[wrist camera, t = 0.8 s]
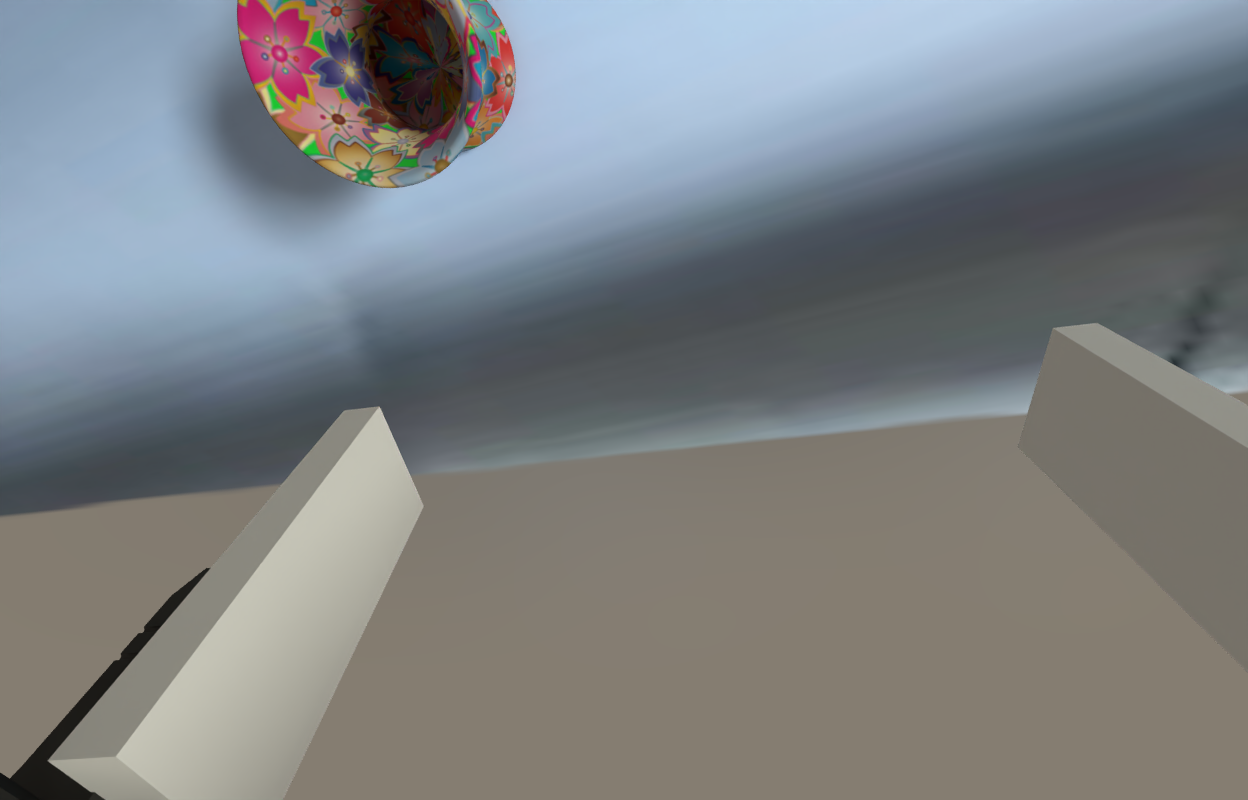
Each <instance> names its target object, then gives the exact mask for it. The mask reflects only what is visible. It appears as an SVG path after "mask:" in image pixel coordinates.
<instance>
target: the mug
mask: <svg viewBox="0 0 1248 800" xmlns="http://www.w3.org/2000/svg"><path fill="white" fill-rule="evenodd" d="M237 21H238V32H239V40H240V45H241V50H242V54H243V58H244V61H245V64H246V68H247V70H248V73H249V76H250V78H251V81H252V83H253V85H254V87H255V90H256V92H257V94H258V96H259V98H260V99H261V101H262V103H263V105H264V107H265V108H266V110H267V111H268V113H269V114H270V116H271V117H272V119H273V120H274V121H275V123H276V124H277V125H278V127H279V128H280V129H281V130H282V132H283V133H284V134H285V135H286V136H287V137H288V138H289V139H290V140H291V141H292V142H293V143H294V144H295V145H296V146H297V147H298V148H299V149H300V150H301V151H302V152H303V153H304V154H306V155H307V156H308V157H309V158H311V159H312V160H313V161H315V162H316V163H317V164H319V165H320V166H322V167H324V168H325V169H327V170H329V171H330V172H332V173H334V174H336V175H338V176H340V177H343V178H345V179H347V180H350V181H353V182H356V183H359V184H363V185H367V186H372V187H380V188H397V187H405V186H410V185H414V184H417V183H420V182H423V181H425V180H427V179H430V178H432V177H433V176H435V175H437V174H438V173H440V172H441V171H443V170H444V169H445V168H446V167H448V166H449V165H450V164H451V163H452V162H453V161H454V160H455V159H456V158H457V156H458V155H459V154H460V153H461V152H462V151H467V150H470V149H473V148H475V147H477V146H479V145H481V144H483V143H484V142H486V141H487V140H488V139H490V138H491V137H492V136H493V135H494V134H495V133H496V132H497V131H498V129H499V128H500V127H501V125H502V124H503V122H504V121H505V119H506V117H507V115H508V113H509V110H510V108H511V104H512V101H513V97H514V91H515V82H516V72H515V62H514V55H513V51H512V47H511V44H510V41H509V38H508V35H507V33H506V30H505V28H504V26H503V24H502V22H501V20H500V18H499V17H498V15H497V14H496V12H495V11H494V9H493V8H492V7H491V5H490V4H489V3H488V2H487V0H238V4H237Z"/></svg>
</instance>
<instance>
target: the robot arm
mask: <svg viewBox="0 0 1248 800" xmlns="http://www.w3.org/2000/svg"><path fill="white" fill-rule="evenodd" d="M1018 448H1019V449H1020V450H1021V451H1022V452H1023V453H1024V454H1025V455H1026V456H1027V457H1028V458H1029V459H1030V460H1031V461H1032V462H1033V463H1034V464H1035V465H1036V466H1037V467H1039V469H1040V470H1041V471H1042V472H1043V473H1045V474H1046V475H1047V476H1048V477H1049V478H1050V479H1051V480H1052V481H1053V482H1054V483H1055V484H1056V485H1057V486H1058V487H1059V488H1060V489H1061V490H1062V491H1063V492H1064V493H1065V494H1066V495H1067V496H1068V497H1069V498H1070V499H1071V500H1072V501H1073V502H1074V503H1075V504H1076V505H1077V506H1078V507H1079V508H1080V509H1081V510H1082V511H1083V512H1084V513H1085V514H1086V515H1087V516H1088V517H1089V518H1090V519H1092V521H1094V522H1095V524H1097V525H1098V526H1099V527H1100V528H1101V529H1102V530H1103V531H1104V532H1105V533H1106V534H1107V535H1108V536H1109V537H1110V538H1111V539H1112V540H1113V541H1114V542H1115V543H1116V544H1117V545H1118V546H1119V547H1120V548H1121V549H1122V550H1123V551H1124V552H1125V553H1126V554H1127V555H1128V556H1129V557H1130V558H1131V559H1132V560H1133V561H1134V562H1135V563H1136V564H1137V565H1138V566H1139V567H1140V568H1141V569H1142V570H1144V572H1145V573H1147V574H1148V576H1150V577H1151V578H1152V579H1153V580H1154V581H1155V582H1156V583H1157V584H1158V585H1159V586H1160V587H1161V588H1162V589H1163V590H1164V591H1165V592H1166V593H1167V594H1168V595H1169V596H1170V597H1171V598H1172V599H1173V600H1174V601H1175V602H1176V603H1177V604H1178V605H1179V606H1180V607H1181V608H1182V609H1183V610H1184V611H1185V612H1186V613H1187V614H1188V615H1189V616H1190V617H1191V618H1192V619H1193V620H1194V621H1195V622H1197V624H1198V625H1199V626H1200V627H1202V628H1203V629H1204V630H1205V631H1206V632H1207V633H1208V634H1209V635H1210V636H1211V637H1212V638H1213V639H1214V640H1215V641H1216V642H1217V643H1218V644H1219V645H1220V646H1221V647H1222V648H1223V649H1224V650H1225V651H1226V652H1227V653H1228V654H1229V655H1230V656H1231V657H1232V658H1233V659H1234V660H1235V661H1236V662H1237V663H1238V664H1239V665H1240V666H1241V667H1242V668H1243V669H1244V670H1245V671H1246V672H1247V673H1248V405H1246V404H1244V403H1242V402H1241V401H1239V400H1237V399H1235V398H1233V397H1231V396H1230V395H1228V394H1226V393H1224V392H1222V391H1220V390H1219V389H1217V388H1215V387H1213V386H1211V385H1210V384H1208V383H1206V382H1204V381H1202V380H1200V379H1199V378H1197V377H1195V376H1193V375H1191V374H1189V373H1188V372H1186V371H1184V370H1182V369H1180V368H1178V367H1177V366H1175V365H1173V364H1171V363H1169V362H1167V361H1166V360H1164V359H1162V358H1160V357H1158V356H1156V355H1155V354H1153V353H1151V352H1149V351H1147V350H1145V349H1144V348H1142V347H1140V346H1138V345H1136V344H1134V343H1133V342H1131V341H1129V340H1127V339H1125V338H1123V337H1122V336H1120V335H1118V334H1116V333H1114V332H1112V331H1111V330H1109V329H1107V328H1105V327H1103V326H1101V325H1100V324H1098V323H1093V324H1084V325H1076V326H1067V327H1059V328H1053V330H1052V333H1051V336H1050V340H1049V343H1048V347H1047V350H1046V353H1045V357H1044V360H1043V363H1042V367H1041V370H1040V373H1039V377H1038V380H1037V384H1036V387H1035V390H1034V394H1033V397H1032V400H1031V404H1030V407H1029V411H1028V414H1027V418H1026V421H1025V424H1024V428H1023V431H1022V434H1021V437H1020V441H1019V444H1018ZM422 508H423V504H422V501H421V499H420V497H419V494H418V492H417V490H416V488H415V485H414V483H413V481H412V479H411V476H410V474H409V472H408V470H407V467H406V465H405V463H404V461H403V458H402V456H401V454H400V452H399V449H398V447H397V445H396V443H395V441H394V438H393V436H392V434H391V432H390V429H389V427H388V425H387V423H386V420H385V418H384V416H383V414H382V411H381V409H380V407H371V408H362V409H354V410H345V411H343V413H342V414H341V415H340V416H339V417H338V419H337V420H336V421H335V422H334V423H333V424H332V426H331V427H330V428H329V429H328V430H327V432H326V433H325V434H324V435H323V436H322V437H321V439H320V440H319V441H318V442H317V443H316V444H315V446H314V447H313V448H312V449H311V450H310V452H309V453H308V454H307V455H306V456H305V457H304V459H303V460H302V461H301V462H300V463H299V465H298V466H297V467H296V468H295V469H294V470H293V472H292V473H291V474H290V475H289V476H288V478H287V479H286V480H285V481H284V482H283V483H282V485H281V486H280V487H279V488H278V489H277V491H276V492H275V493H274V494H273V495H272V497H271V498H270V499H269V500H268V501H267V502H266V504H265V505H264V506H263V507H262V508H261V509H260V511H259V512H258V513H257V514H256V515H255V517H254V518H253V519H252V520H251V521H250V522H249V524H248V525H247V526H246V527H245V528H244V529H243V531H242V532H241V533H240V534H239V535H238V537H237V538H236V539H235V540H234V542H232V544H231V545H230V546H229V547H228V548H227V550H226V551H225V552H224V553H223V554H222V555H221V557H220V558H219V559H218V560H217V561H216V563H215V564H214V565H213V566H212V567H211V568H206V569H205V570H203V571H202V572H201V573H200V574H198V575H197V576H196V577H195V578H193V579H192V580H191V581H190V582H188V583H187V584H186V585H184V586H183V587H182V588H181V589H179V590H178V591H177V592H176V593H174V594H173V595H172V596H171V597H170V598H169V599H168V600H167V601H166V602H165V604H164V605H163V606H162V607H161V608H160V609H159V611H158V612H157V613H156V614H155V615H154V616H153V617H152V618H151V620H150V621H149V622H148V623H147V624H146V625H145V626H144V629H145V630H144V632H143V633H139V634H137V636H136V637H135V638H134V639H133V640H132V641H131V642H130V643H129V645H128V646H127V647H126V648H125V649H124V650H123V651H122V653H121V658H120V660H116V661H114V662H113V663H112V664H111V665H110V666H109V668H108V669H107V670H106V671H105V672H104V673H103V674H102V675H101V677H100V678H99V679H98V680H97V681H96V682H95V683H94V685H93V686H92V687H91V688H90V689H89V690H88V691H87V693H86V694H85V695H84V696H83V697H82V698H81V699H80V700H79V702H78V703H77V704H76V705H75V707H73V708H72V710H71V711H70V712H69V713H68V714H67V715H66V716H65V718H64V719H63V720H62V721H61V722H60V723H59V724H58V726H57V727H56V728H55V729H54V730H53V731H52V732H51V734H50V735H49V736H48V737H47V738H46V739H45V740H44V742H43V743H42V744H41V745H40V746H39V747H38V748H37V749H36V751H35V752H34V753H33V754H32V755H31V756H30V757H29V759H28V760H27V761H26V762H25V763H24V764H23V765H22V767H21V768H20V769H19V770H18V771H17V772H16V773H15V774H14V775H13V776H12V777H11V778H10V779H9V778H8V777H6V776H5V775H3V774H2V773H0V800H283V798H284V796H285V794H286V792H287V790H288V788H289V786H290V784H291V781H292V779H293V777H294V775H295V773H296V771H297V769H298V767H299V765H300V763H301V761H302V759H303V757H304V754H305V752H306V750H307V748H308V746H309V744H310V742H311V740H312V738H313V736H314V734H315V731H316V729H317V727H318V725H319V723H320V721H321V719H322V717H323V715H324V713H325V711H326V709H327V707H328V704H329V702H330V700H331V698H332V696H333V694H334V692H335V690H336V688H337V686H338V684H339V682H340V679H341V677H342V675H343V673H344V671H345V669H346V667H347V665H348V663H349V661H350V659H351V656H352V654H353V652H354V650H355V648H356V646H357V644H358V642H359V640H360V638H361V636H362V634H363V632H364V629H365V627H366V625H367V623H368V621H369V619H370V617H371V615H372V613H373V611H374V609H375V606H376V604H377V602H378V600H379V598H380V596H381V594H382V592H383V590H384V588H385V586H386V584H387V581H388V579H389V577H390V575H391V573H392V571H393V569H394V567H395V565H396V563H397V561H398V558H399V556H400V554H401V552H402V550H403V548H404V546H405V544H406V542H407V540H408V538H409V536H410V533H411V531H412V529H413V527H414V525H415V523H416V521H417V519H418V517H419V514H420V513H421V510H422Z"/></svg>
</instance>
